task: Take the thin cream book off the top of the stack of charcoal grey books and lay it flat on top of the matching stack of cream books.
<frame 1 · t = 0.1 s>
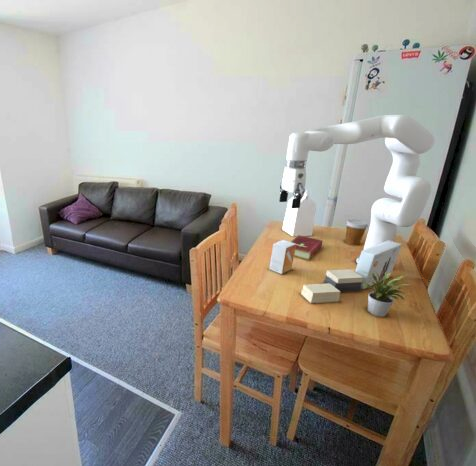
hand: (288, 204, 132), 31 cm above the table, tool pointing down, fingers open, 9 cm apart
house plant: (372, 312, 111), on the table
cream book stack: (319, 297, 121), on the table
skincare box: (371, 281, 131), on the table
cream book: (343, 278, 125), point 4 cm above the table, touching grey book stack
hardcover book: (302, 250, 162), on the table
milk: (296, 232, 185), on the table
small box: (280, 269, 143), on the table
grey book stack: (341, 287, 127), on the table
disposable coffee cup: (352, 243, 168), on the table
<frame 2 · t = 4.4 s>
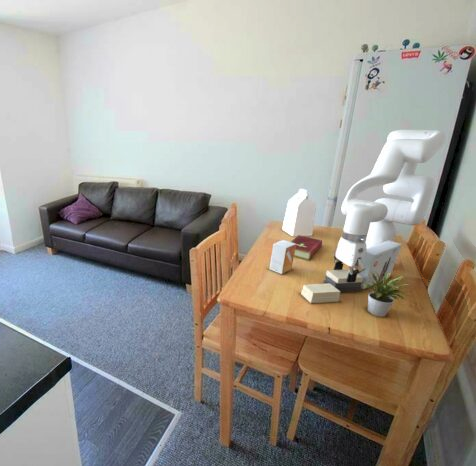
hand: (343, 276, 125), 5 cm above the table, tool pointing down, fingers closed on cream book, 7 cm apart
cream book: (343, 278, 125), point 4 cm above the table, touching grey book stack, gripper
everything else where it was.
when the fingers open (5 cm above the table, at t = 11.5 s): cream book stays where it is, resting on cream book stack.
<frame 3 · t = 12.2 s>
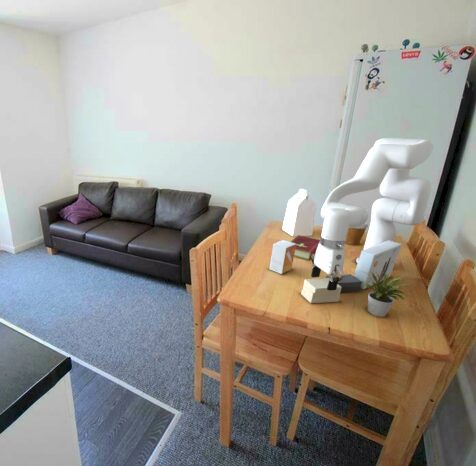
hand: (322, 283, 119), 7 cm above the table, tool pointing down, fingers open, 9 cm apart
cream book: (321, 288, 119), point 4 cm above the table, touching cream book stack
everything else where it was.
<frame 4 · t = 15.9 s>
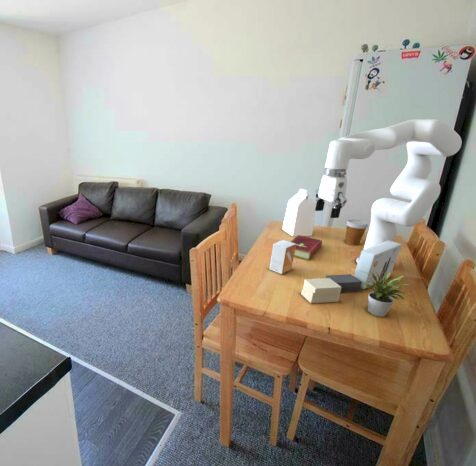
hand: (326, 214, 128), 28 cm above the table, tool pointing down, fingers open, 9 cm apart
nothing on the table moved.
at the end: cream book 0.0 cm off-centre on the cream book stack, point 4.4 cm above the cream book stack's base; cream book tilted 0° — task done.
